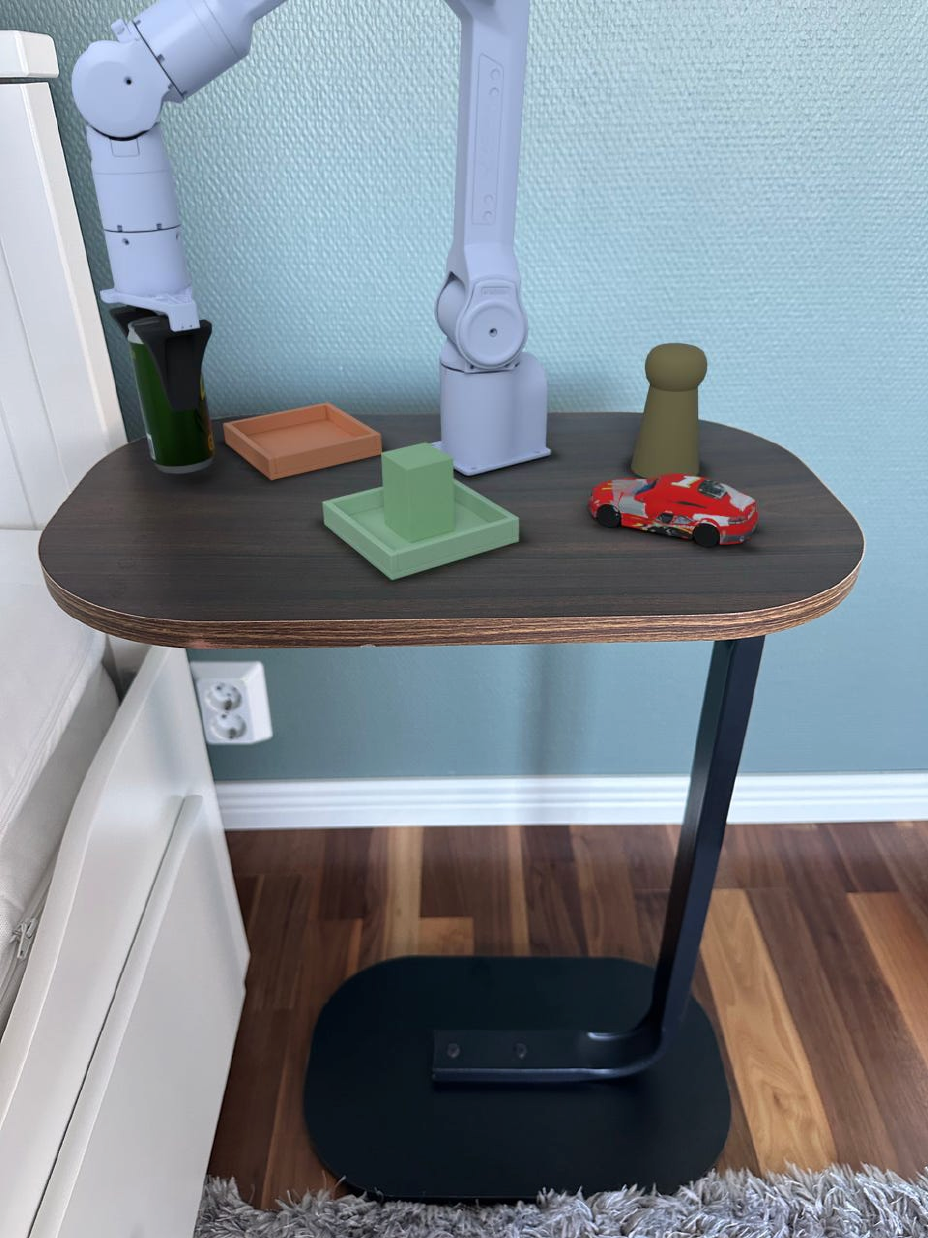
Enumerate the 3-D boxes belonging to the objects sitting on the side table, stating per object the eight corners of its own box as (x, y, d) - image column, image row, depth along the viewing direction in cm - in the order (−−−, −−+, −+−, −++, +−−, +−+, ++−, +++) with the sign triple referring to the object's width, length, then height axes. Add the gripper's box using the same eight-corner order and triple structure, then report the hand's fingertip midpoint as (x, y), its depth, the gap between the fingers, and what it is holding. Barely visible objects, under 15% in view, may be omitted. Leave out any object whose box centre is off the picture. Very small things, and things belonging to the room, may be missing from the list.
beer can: (164, 479, 79) (136, 334, 73) (144, 460, 83) (116, 320, 77) (225, 465, 82) (203, 324, 75) (203, 447, 85) (181, 311, 79)
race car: (577, 523, 76) (579, 476, 74) (602, 498, 80) (605, 453, 78) (742, 557, 70) (749, 508, 68) (760, 529, 74) (768, 481, 72)
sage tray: (442, 492, 81) (442, 470, 80) (519, 541, 73) (519, 517, 72) (324, 524, 76) (321, 501, 75) (392, 580, 68) (390, 555, 67)
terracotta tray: (330, 420, 97) (328, 401, 96) (382, 454, 89) (381, 433, 88) (225, 442, 92) (222, 423, 91) (271, 480, 84) (268, 459, 83)
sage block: (428, 512, 76) (426, 441, 73) (454, 530, 73) (453, 457, 70) (384, 524, 75) (380, 452, 71) (410, 543, 72) (406, 469, 69)
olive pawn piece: (683, 487, 81) (699, 359, 76) (619, 472, 84) (629, 349, 79) (709, 464, 86) (725, 342, 80) (647, 451, 89) (658, 332, 83)
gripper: (66, 219, 76) (102, 386, 83) (115, 245, 65) (152, 434, 72) (153, 211, 79) (180, 372, 86) (214, 235, 68) (239, 416, 75)
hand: (173, 399), depth 79 cm, fingers closed on beer can, 5 cm apart
